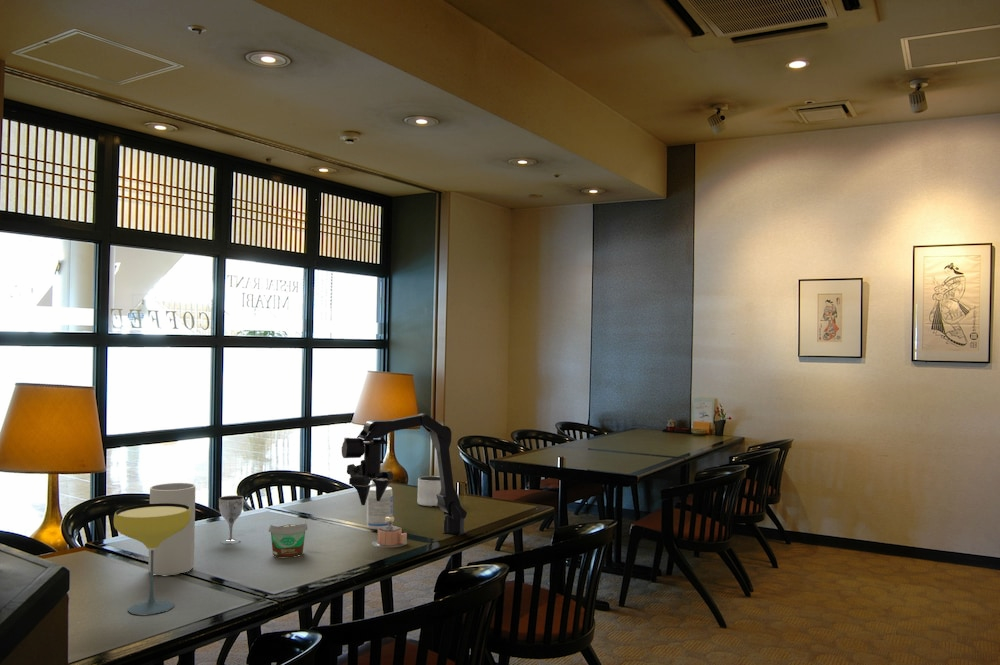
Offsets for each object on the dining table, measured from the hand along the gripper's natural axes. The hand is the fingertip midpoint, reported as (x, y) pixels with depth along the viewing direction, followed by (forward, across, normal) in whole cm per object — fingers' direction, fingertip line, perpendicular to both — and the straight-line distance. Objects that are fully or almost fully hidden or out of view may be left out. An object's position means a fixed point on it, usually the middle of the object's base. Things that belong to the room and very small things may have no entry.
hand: (370, 503), depth 268 cm
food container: (+15, +25, -14) cm, 32 cm away
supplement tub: (+14, -21, -10) cm, 27 cm away
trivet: (+14, -2, +7) cm, 15 cm away
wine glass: (+15, +19, -44) cm, 50 cm away
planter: (+13, -68, -14) cm, 71 cm away
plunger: (+12, -2, +7) cm, 14 cm away
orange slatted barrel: (+13, -2, +7) cm, 15 cm away
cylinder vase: (+16, +53, -34) cm, 65 cm away
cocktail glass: (+16, +80, -13) cm, 82 cm away
